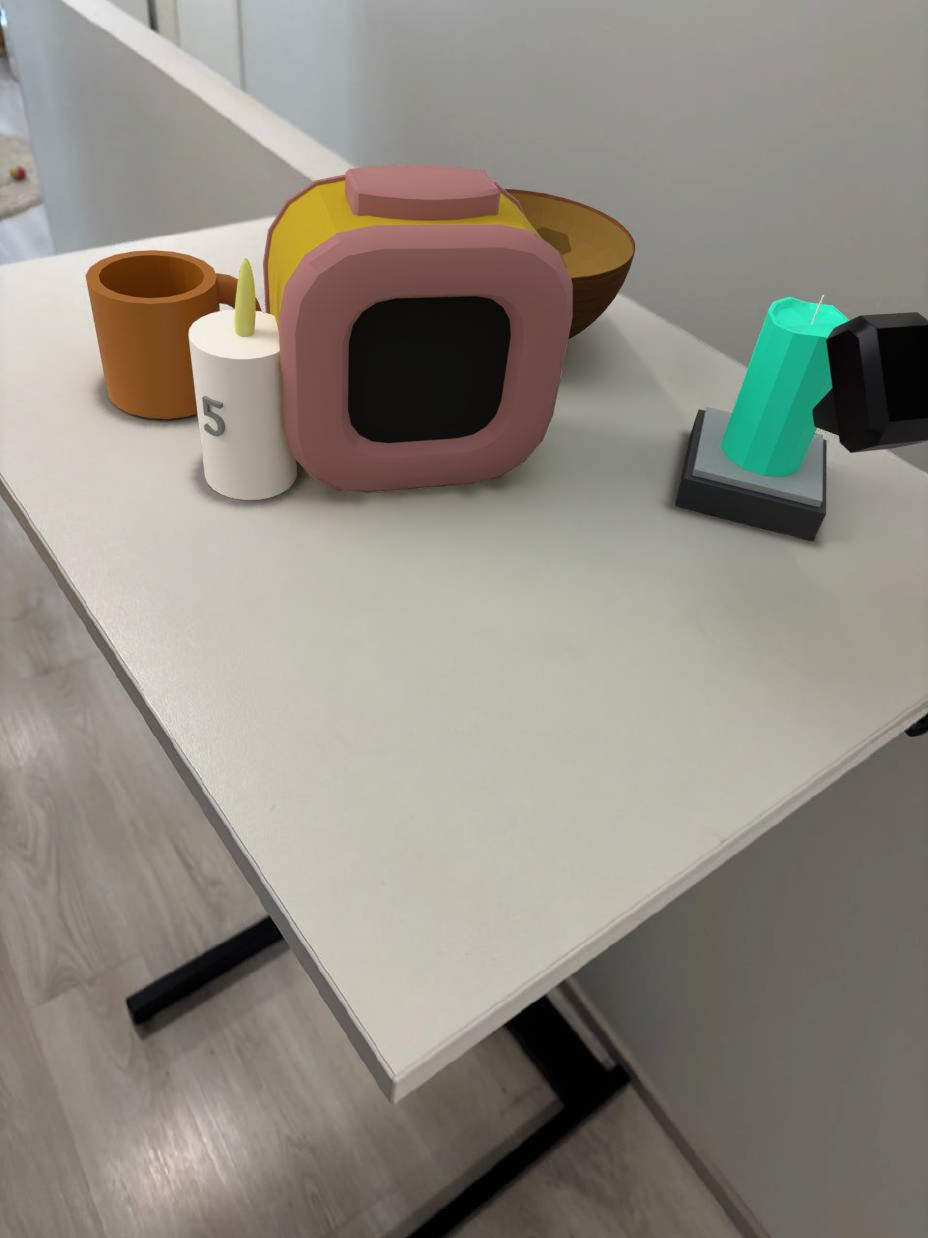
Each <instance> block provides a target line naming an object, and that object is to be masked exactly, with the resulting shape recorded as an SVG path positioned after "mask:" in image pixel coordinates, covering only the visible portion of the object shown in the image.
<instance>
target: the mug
mask: <svg viewBox="0 0 928 1238" xmlns="http://www.w3.org/2000/svg"><path fill="white" fill-rule="evenodd" d="M84 276H85V281H86V287H87V292H88V297H89V302H90V309H91V313H92V318H93V323H94V330H95V334H96V339H97V344H98V350H99V351H98V352H99V355H100V360H101V365H102V372H103V377H104V381H105V388H106V392H107V397H108V400H109V401H110V402H111V403H112V404H113V405H114V406H115V407H116V408H117V409H119V410H121V411H123V412H126V413H128V414H130V415H134V416H137V417H143V418H147V419H162V420H169V419H179V418H188V417H190V416H194V415H198V413H197V404H196V396H195V387H194V378H193V370H192V361H191V352H190V344H189V329H190V327H191V326H192V324H193V323H194V322H195V321H197V320H198V319H200V318H201V317H203V316H206V315H208V314H211V313H215V312H219V311H221V307H220V305H227V306H229V307H230V308H232V310H234V309H235V301H236V292H237V283H238V278H237V277H234V276H233V275H231V274H226V273H219V272H216V270H215V268H214V267H213V266H212V265H210V264H209V263H207V261H205V260H203V259H201V258H198V257H195V256H193V255H191V254H186V253H181V252H177V251H171V250H169V251H168V250H156V249H150V250H149V249H148V250H132V251H126V252H122V253H117V254H113V255H110V256H108V257H105V258H102V259H100V260H98V261H97V262H95V263H94V264H92V265H90V266H89V268H88V270H87V272H86V273H85V275H84ZM260 304H261V303H260V301H259V300H258V298H257V297H256V311H261V312H263V310H262V307H261V305H260Z"/></svg>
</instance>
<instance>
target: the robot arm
mask: <svg viewBox="0 0 928 1238" xmlns="http://www.w3.org/2000/svg"><path fill="white" fill-rule="evenodd" d="M826 344H827V351H828V359H829V366H830V374H831V381H832V389H831V390H830V391H829V392H828V393H827V394H826V395H825V396H824V397H823V398H822V399H821V400H820V401H819V402H818V404H817V405H816V406H815V407H814V408H813V410H812V414H813V421H814V426H815V427H816V428H817V429H819V430H822V431H824V432H827V433H830V434H833V435H836V436H838V441H839V444H840V445H841V446H842V447H843V448H845V449H846V450H847V452H849V453H850V454H855V453H863V452H864V453H865V452H872V451H883V450H890V449H896V448H903V447H908V446H913V445H919V444H922V443H925V442H928V319H927V318H926V317H925V316H923V315H922V314H921V313H920V312H918V311H913V312H911V311H910V312H898V313H896V312H895V313H876V314H861V315H858V316H856V317H854V318H852V319H849V321H847V322H845V323H843V324H841V325H839V326H837V327H835V328H834V329H833V330H832V332H831V333H830V335H829V336H828V338H827V339H826Z"/></svg>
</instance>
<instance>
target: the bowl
mask: <svg viewBox="0 0 928 1238" xmlns="http://www.w3.org/2000/svg"><path fill="white" fill-rule="evenodd" d="M503 189H504V190H506V191H507V192H508V193H509V194H511V195H512V196H513V197H514V198H516V199H517V200H518V201H519V203H520V205H521V207H522V209H523V212H524V214H525V216H526V218H527V220H528V221H529V222H530V224H531V225H532V226H533V227H534V229H535V230H536V231H537V233H538V234H539V235H540V236H541V238H543V239H544V240H545V241H546V242H548V243H549V244H550V245H551V246H553V247H554V248H555V249H556V250H558V251H559V253H560V256H561V258H562V260H563V262H564V264H565V266H566V269H567V271H568V273H569V275H570V277H571V280H572V286H573V317H572V322H571V328H570V333H569V338H568V341H570V340H571V339H573V338H576V336H578V335H579V334H581V333H583V332H584V331H585V330H587V329H588V328H589V327H590V326H591V325H592V324H594V322H596V321H597V320H598V319H599V318H600V317H601V316H602V315H603V314H604V313H605V311H607V309H608V308H609V307H610V305H611V304H612V303H613V301H614V300H615V299H616V297H617V296H618V294H619V292H620V290H621V289H622V287H623V285H624V283H625V281H626V279H627V277H628V274H629V272H630V269H631V267H632V264H633V260H634V257H635V252H636V241H635V239H634V237H633V236H632V234H631V233H630V231H629V230H628V229H627V228H626V227H625V226H624V225H623V224H622V223H620V222H619V221H618V220H616V219H615V218H614V217H612V216H611V215H609V214H607V213H605V212H604V211H601V210H599V209H596V208H594V207H592V206H589V205H588V204H584V203H581V202H579V201H576V200H572V199H570V198H566V197H562V196H558V195H553V194H550V193H544V192H538V191H533V190H532V191H531V190H524V189H515V188H514V189H513V188H503Z"/></svg>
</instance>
